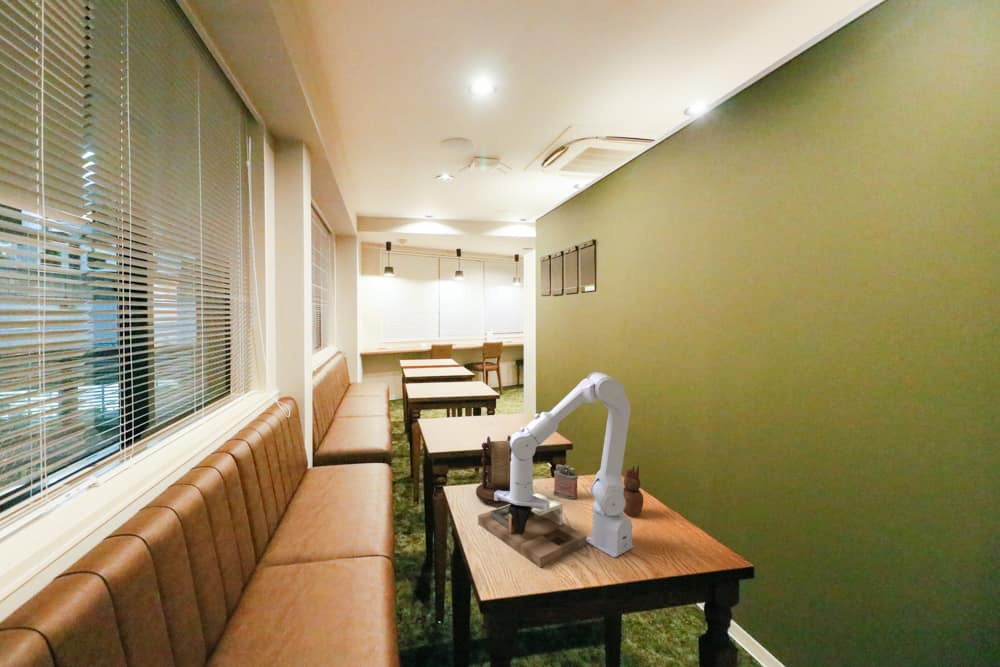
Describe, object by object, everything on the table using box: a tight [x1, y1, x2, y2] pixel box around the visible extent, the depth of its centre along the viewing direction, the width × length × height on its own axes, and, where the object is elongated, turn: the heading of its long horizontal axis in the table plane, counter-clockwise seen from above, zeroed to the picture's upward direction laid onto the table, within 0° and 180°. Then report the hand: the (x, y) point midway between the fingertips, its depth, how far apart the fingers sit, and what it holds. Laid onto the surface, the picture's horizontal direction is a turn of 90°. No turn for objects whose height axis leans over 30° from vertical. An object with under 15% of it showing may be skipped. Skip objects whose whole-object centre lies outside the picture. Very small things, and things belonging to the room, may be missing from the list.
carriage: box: [490, 504, 535, 533], centre depth 116 cm, size 10×12×4 cm
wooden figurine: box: [622, 465, 644, 518], centre depth 126 cm, size 7×6×15 cm
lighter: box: [553, 463, 579, 501], centre depth 137 cm, size 8×3×10 cm, turn 58°
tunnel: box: [477, 491, 587, 569], centre depth 114 cm, size 26×16×8 cm, turn 37°
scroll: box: [475, 435, 512, 506], centre depth 136 cm, size 15×15×20 cm
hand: (520, 532), depth 108 cm, fingers closed
